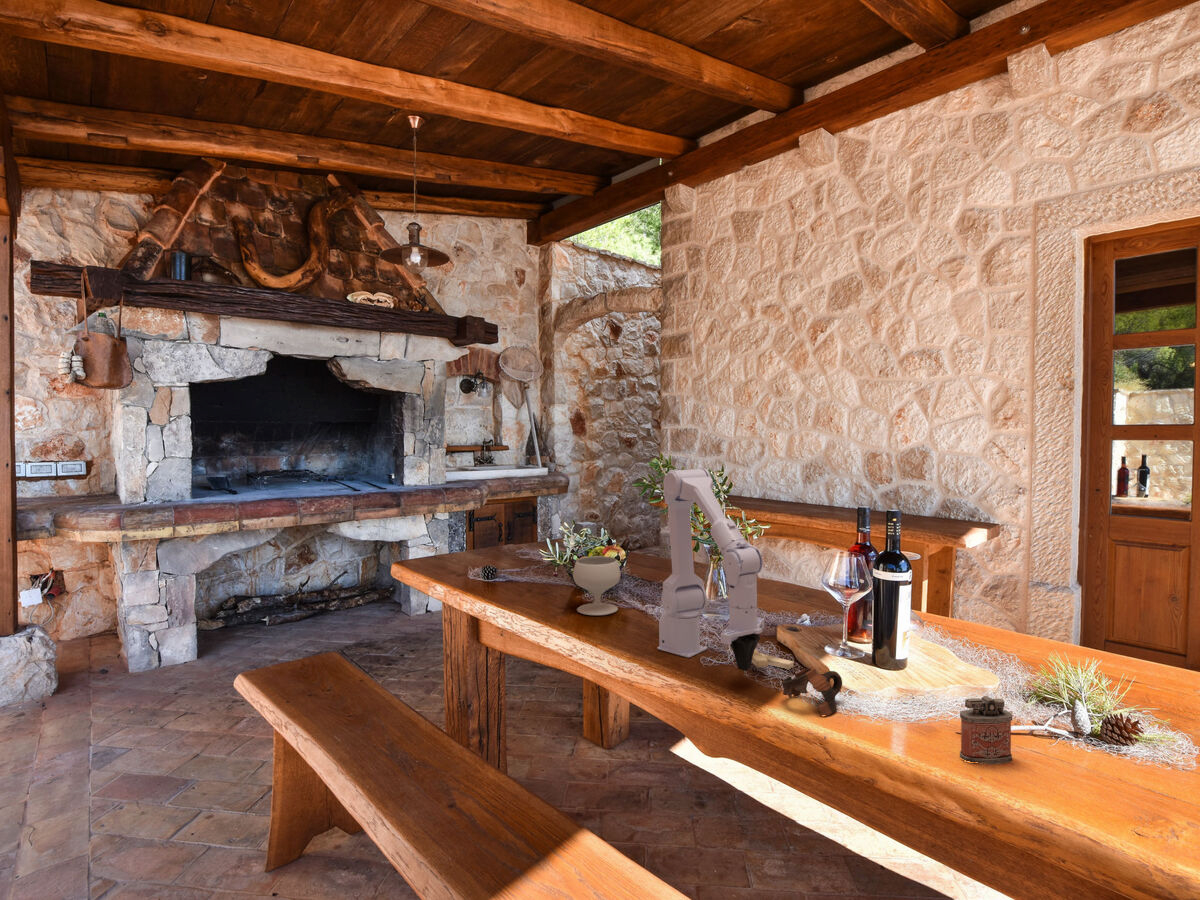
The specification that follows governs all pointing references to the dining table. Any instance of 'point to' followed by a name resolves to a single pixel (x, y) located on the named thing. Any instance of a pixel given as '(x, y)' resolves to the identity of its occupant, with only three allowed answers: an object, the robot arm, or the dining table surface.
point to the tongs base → (779, 662)
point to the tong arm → (759, 660)
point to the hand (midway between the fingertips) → (743, 669)
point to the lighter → (986, 731)
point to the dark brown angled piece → (815, 687)
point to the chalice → (596, 581)
